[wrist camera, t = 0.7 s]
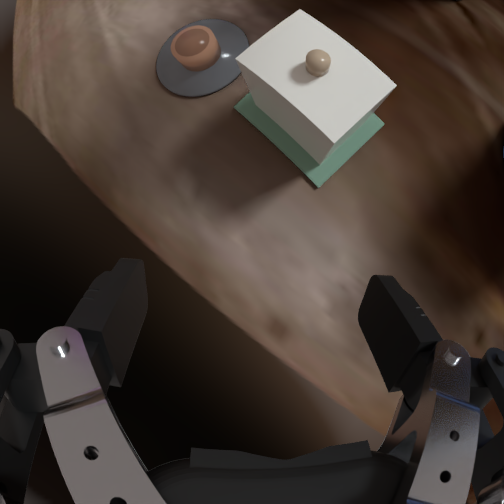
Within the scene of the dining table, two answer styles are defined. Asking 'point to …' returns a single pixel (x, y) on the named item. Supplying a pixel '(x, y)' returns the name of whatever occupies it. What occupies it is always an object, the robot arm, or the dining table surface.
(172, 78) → the slate coaster
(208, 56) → the clay bowl
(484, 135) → the dining table surface
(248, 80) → the ceramic cover
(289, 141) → the felt mat
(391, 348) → the robot arm
